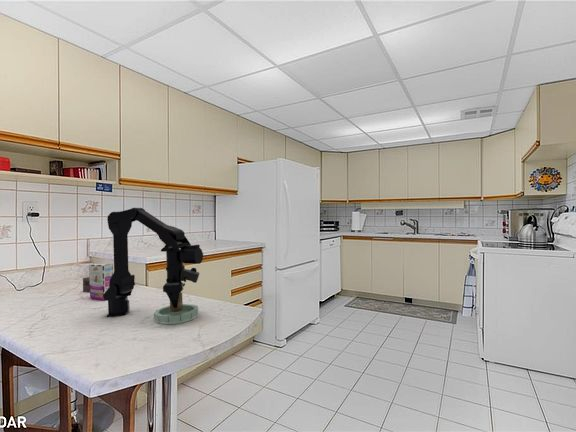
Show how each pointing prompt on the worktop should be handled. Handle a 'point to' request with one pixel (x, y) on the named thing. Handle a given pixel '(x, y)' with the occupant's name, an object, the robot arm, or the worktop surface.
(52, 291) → the worktop surface
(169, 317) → the dish
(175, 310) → the brown cylinder
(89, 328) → the worktop surface
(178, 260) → the robot arm
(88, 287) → the box
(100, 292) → the candy bar box
